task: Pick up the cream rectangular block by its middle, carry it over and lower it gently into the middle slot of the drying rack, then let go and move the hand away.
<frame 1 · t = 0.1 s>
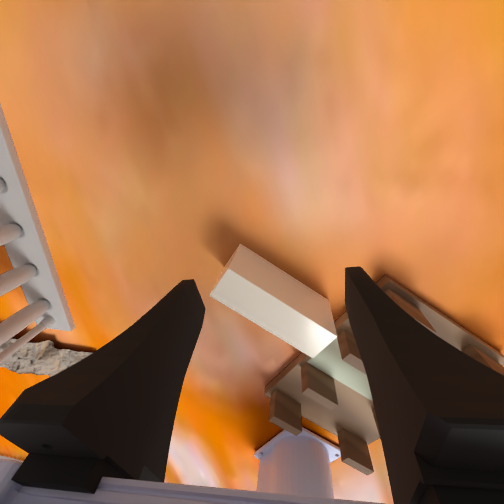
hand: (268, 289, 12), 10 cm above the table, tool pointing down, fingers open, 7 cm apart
cream rectangular block: (276, 282, 24), on the table
stone fragment: (51, 348, 34), on the table
drying rack: (369, 372, 27), on the table
test tube rack: (25, 226, 26), on the table
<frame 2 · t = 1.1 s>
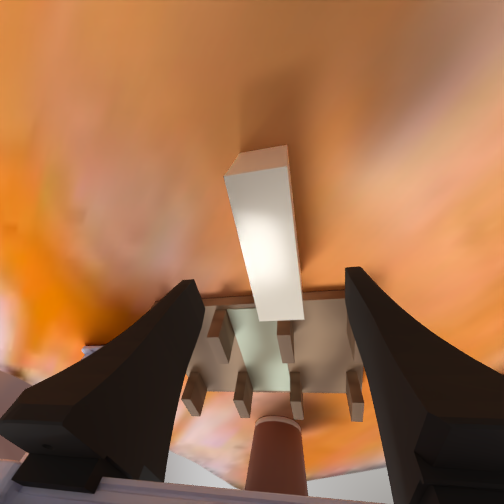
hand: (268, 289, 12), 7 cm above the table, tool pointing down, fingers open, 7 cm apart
cream rectangular block: (274, 220, 19), on the table
coffee cup: (277, 425, 36), on the table
drying rack: (264, 345, 26), on the table
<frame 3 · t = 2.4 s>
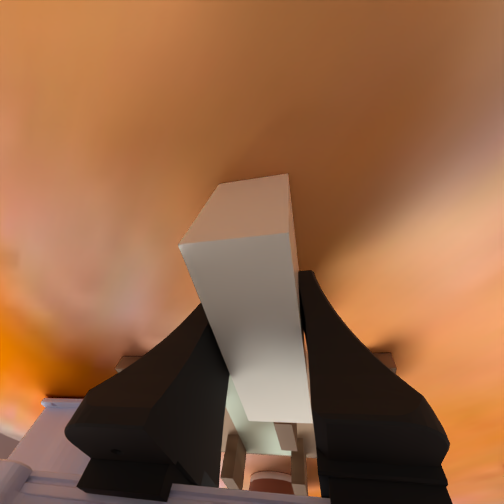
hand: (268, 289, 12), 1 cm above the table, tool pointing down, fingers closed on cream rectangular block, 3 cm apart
cream rectangular block: (270, 272, 13), on the table, touching gripper
coffee cup: (276, 479, 31), on the table
drying rack: (259, 406, 21), on the table
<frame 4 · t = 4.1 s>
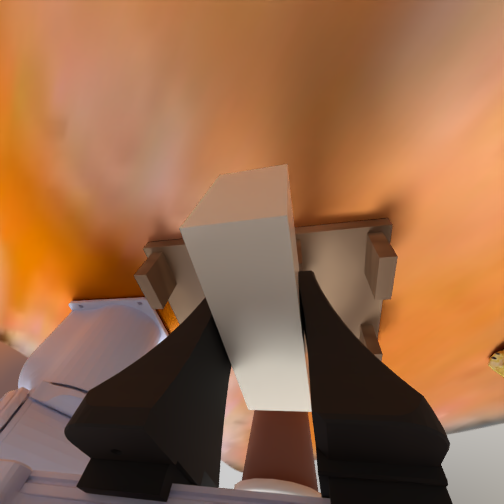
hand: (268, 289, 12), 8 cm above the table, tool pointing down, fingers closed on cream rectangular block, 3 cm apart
cream rectangular block: (269, 263, 14), point 6 cm above the table, touching gripper
coffee cup: (281, 396, 34), on the table
drying rack: (269, 296, 24), on the table
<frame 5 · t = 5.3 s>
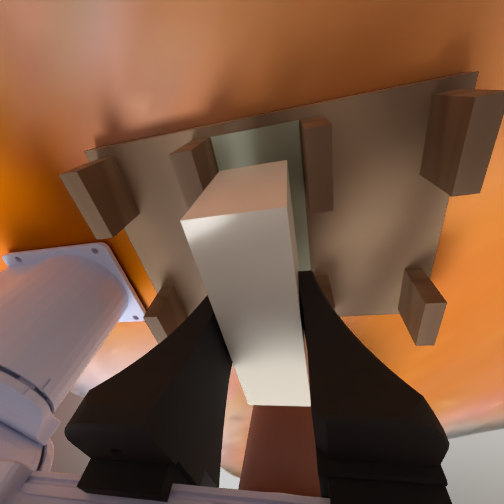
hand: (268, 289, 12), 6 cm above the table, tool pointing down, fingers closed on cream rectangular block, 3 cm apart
cream rectangular block: (269, 259, 14), point 4 cm above the table, touching gripper
coffee cup: (288, 382, 27), on the table
drying rack: (273, 233, 17), on the table
when the fingers open (4 cm above the table, at t = 6.0 s): cream rectangular block stays where it is, resting on drying rack.
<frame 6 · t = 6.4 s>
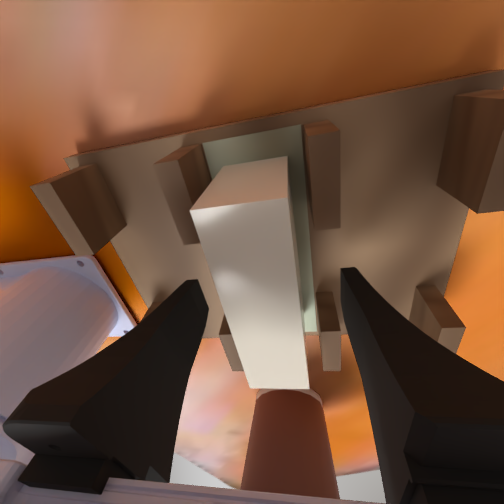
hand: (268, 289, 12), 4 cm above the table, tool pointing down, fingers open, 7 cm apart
cream rectangular block: (270, 251, 14), point 1 cm above the table, touching drying rack
coffee cup: (288, 398, 25), on the table
drying rack: (272, 246, 15), on the table
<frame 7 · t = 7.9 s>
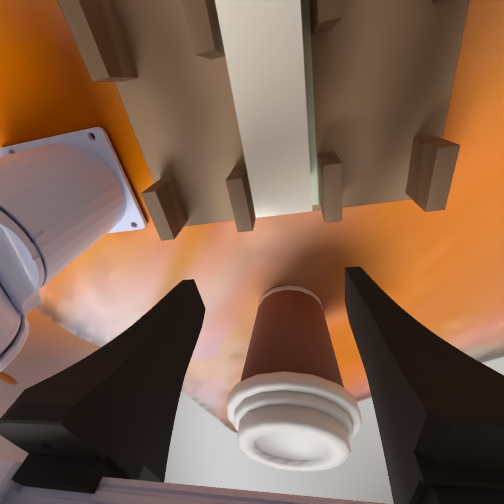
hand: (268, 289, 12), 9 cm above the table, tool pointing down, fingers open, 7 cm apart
cream rectangular block: (275, 101, 15), point 1 cm above the table, touching drying rack
coffee cup: (290, 307, 26), on the table
drying rack: (276, 106, 16), on the table
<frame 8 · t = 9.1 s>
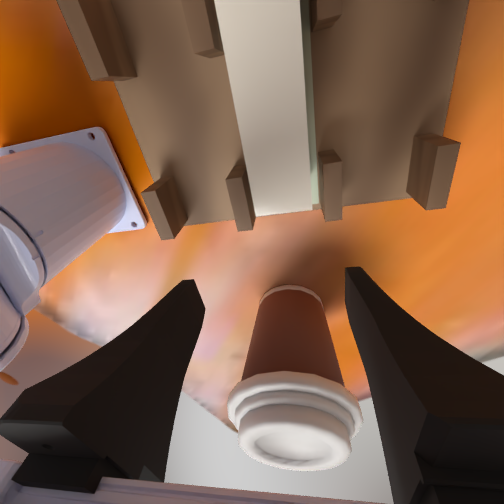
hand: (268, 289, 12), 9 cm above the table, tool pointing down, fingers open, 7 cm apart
cream rectangular block: (274, 100, 15), point 1 cm above the table, touching drying rack
coffee cup: (290, 307, 26), on the table
drying rack: (276, 105, 16), on the table
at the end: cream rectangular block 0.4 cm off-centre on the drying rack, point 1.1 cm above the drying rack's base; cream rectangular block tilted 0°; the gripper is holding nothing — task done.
